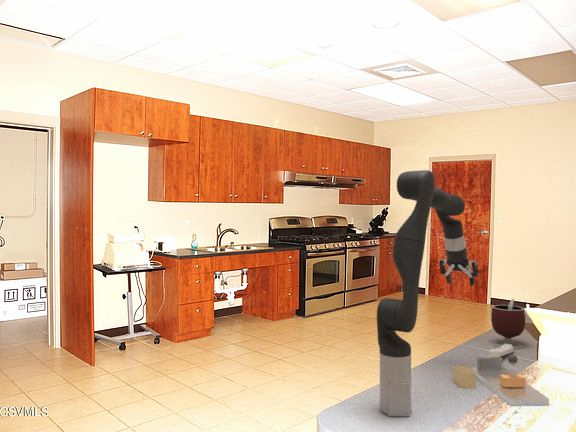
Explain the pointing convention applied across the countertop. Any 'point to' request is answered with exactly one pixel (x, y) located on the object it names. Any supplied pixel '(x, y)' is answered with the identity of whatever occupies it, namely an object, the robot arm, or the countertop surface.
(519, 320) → the mate gourd
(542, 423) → the countertop surface
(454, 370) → the block
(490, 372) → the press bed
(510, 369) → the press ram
